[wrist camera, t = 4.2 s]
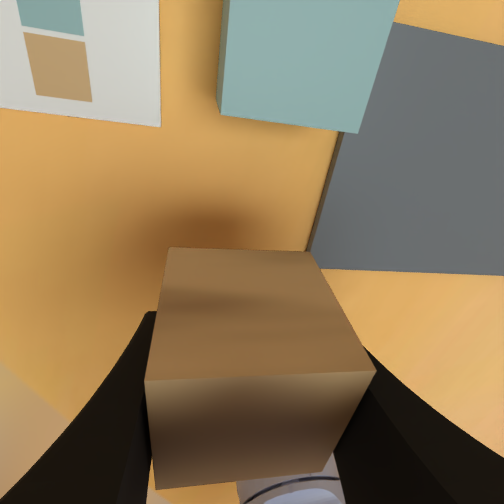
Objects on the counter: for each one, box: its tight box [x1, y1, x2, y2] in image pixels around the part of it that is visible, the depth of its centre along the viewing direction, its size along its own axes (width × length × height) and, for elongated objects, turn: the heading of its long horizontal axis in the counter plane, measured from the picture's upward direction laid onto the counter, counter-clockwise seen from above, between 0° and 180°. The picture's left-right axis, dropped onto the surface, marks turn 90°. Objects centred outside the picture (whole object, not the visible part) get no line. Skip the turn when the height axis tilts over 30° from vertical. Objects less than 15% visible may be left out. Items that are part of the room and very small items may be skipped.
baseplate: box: [306, 22, 504, 276], centre depth 18 cm, size 13×18×1 cm
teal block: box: [216, 0, 400, 134], centre depth 11 cm, size 5×5×5 cm
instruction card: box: [0, 0, 161, 127], centre depth 12 cm, size 6×8×1 cm
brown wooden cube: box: [144, 247, 377, 490], centre depth 10 cm, size 5×5×5 cm
